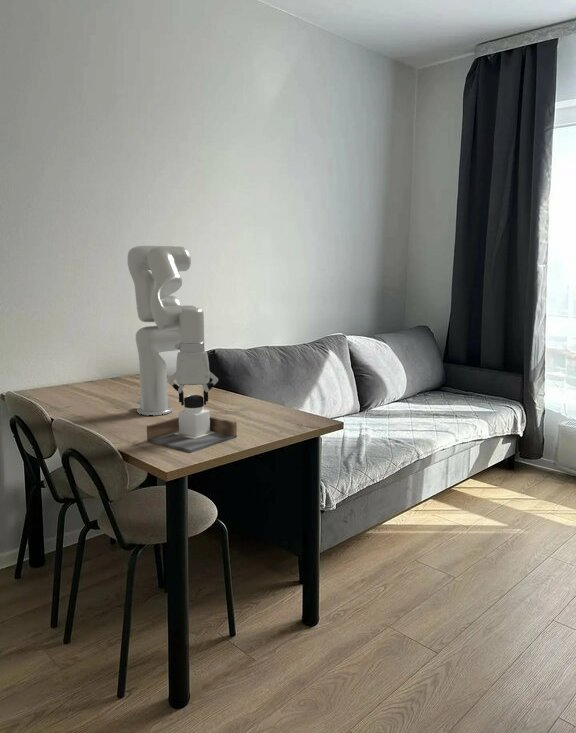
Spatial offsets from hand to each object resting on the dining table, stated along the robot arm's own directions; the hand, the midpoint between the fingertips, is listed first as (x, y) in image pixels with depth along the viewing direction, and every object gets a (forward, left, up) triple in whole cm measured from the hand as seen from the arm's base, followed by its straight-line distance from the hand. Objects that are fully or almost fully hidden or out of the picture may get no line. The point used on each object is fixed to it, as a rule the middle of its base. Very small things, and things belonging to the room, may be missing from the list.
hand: (193, 403), depth 197 cm
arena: (+2, -3, -11) cm, 11 cm away
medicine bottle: (0, 0, -10) cm, 10 cm away
